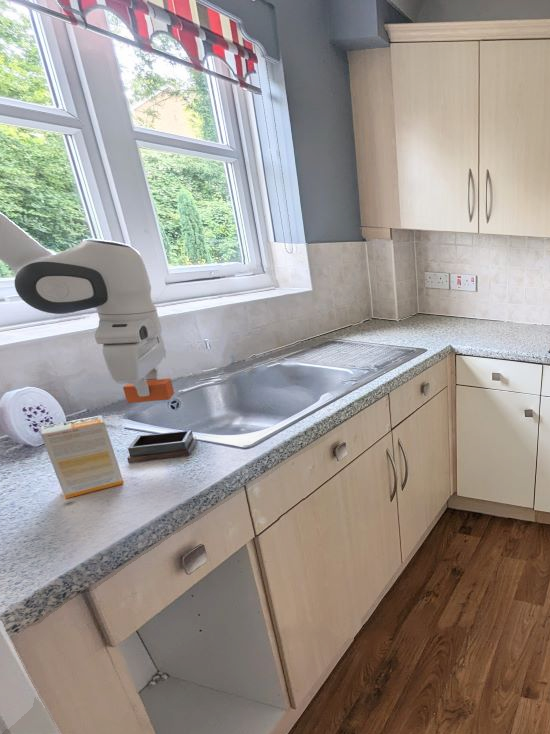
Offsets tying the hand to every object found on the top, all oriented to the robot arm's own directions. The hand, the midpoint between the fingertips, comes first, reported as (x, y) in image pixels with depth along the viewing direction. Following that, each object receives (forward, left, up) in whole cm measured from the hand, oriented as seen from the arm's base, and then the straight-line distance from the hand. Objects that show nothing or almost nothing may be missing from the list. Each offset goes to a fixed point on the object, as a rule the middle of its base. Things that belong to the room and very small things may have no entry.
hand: (149, 391), depth 95 cm
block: (0, 0, -2) cm, 2 cm away
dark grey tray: (0, 0, -14) cm, 14 cm away
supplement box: (-8, -13, -14) cm, 21 cm away
